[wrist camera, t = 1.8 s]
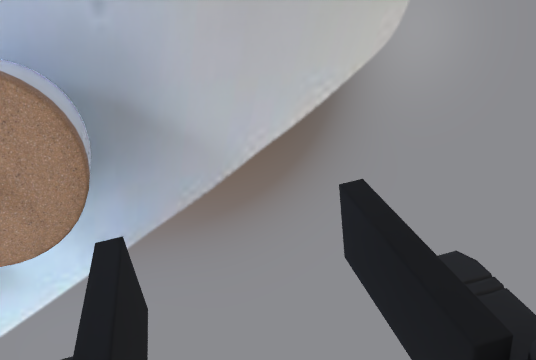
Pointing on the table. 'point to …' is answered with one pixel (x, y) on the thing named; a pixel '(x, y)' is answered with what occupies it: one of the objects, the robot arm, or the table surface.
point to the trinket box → (38, 164)
